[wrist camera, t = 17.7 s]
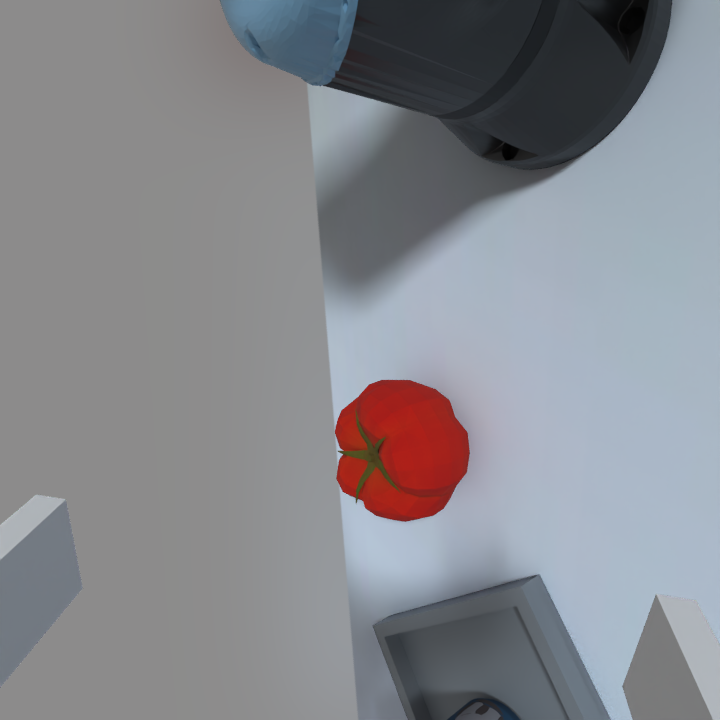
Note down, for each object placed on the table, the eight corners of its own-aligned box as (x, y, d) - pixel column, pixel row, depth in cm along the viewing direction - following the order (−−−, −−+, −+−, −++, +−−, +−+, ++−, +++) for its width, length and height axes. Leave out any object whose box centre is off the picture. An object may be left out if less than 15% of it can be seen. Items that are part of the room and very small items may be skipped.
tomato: (439, 349, 46) (360, 359, 40) (510, 476, 42) (432, 508, 36) (375, 408, 53) (299, 424, 48) (430, 522, 49) (354, 554, 43)
